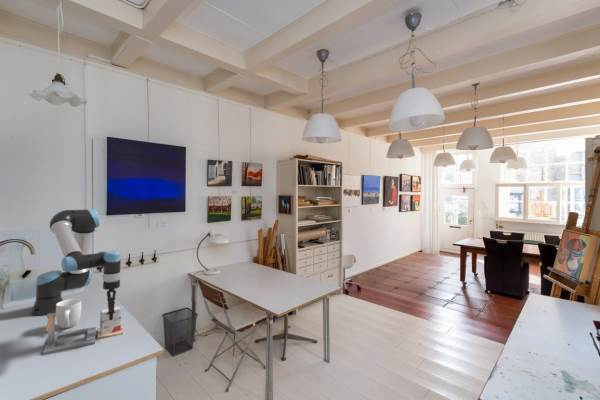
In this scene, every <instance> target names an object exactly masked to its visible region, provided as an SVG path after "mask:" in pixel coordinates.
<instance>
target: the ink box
mask: <svg viewBox="0 0 600 400" xmlns="http://www.w3.org/2000/svg"><path fill="white" fill-rule="evenodd" d="M114 311H115V312H114V325H112V326H108V314H107V313H108V308H106V309H101V310H100V313H99V315H100V316H99V318H100V320H99V322H100V323H99V328H100V333H101V334H102V335H104V334H108V333H111V332H115V331H118V330H121V324H122V308H121V307H120V306H114Z"/></svg>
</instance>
